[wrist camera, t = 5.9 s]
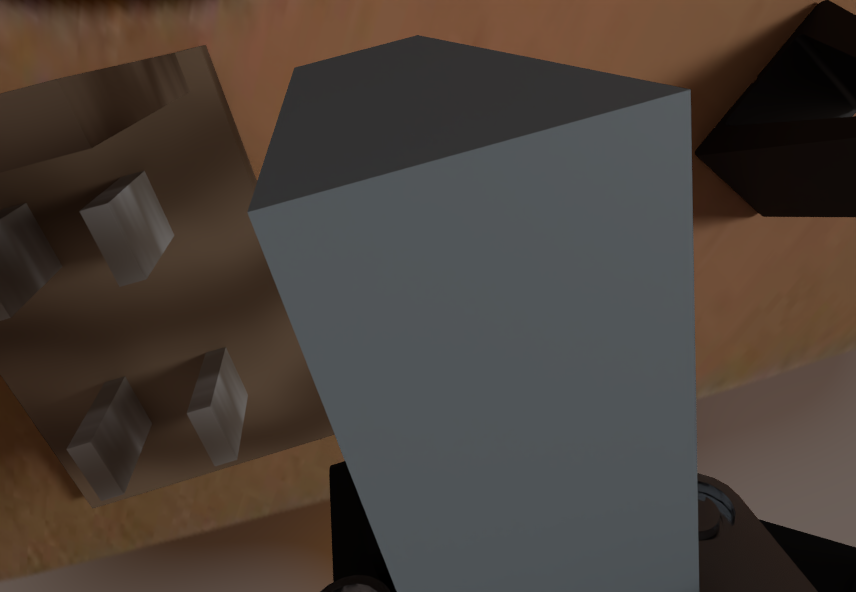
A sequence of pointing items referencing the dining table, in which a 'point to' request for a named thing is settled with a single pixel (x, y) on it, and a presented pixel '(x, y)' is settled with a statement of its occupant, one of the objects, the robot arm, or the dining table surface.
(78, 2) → the dining table surface
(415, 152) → the blue-grey rectangular block
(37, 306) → the wooden peg rack
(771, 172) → the phone stand
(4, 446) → the dining table surface
